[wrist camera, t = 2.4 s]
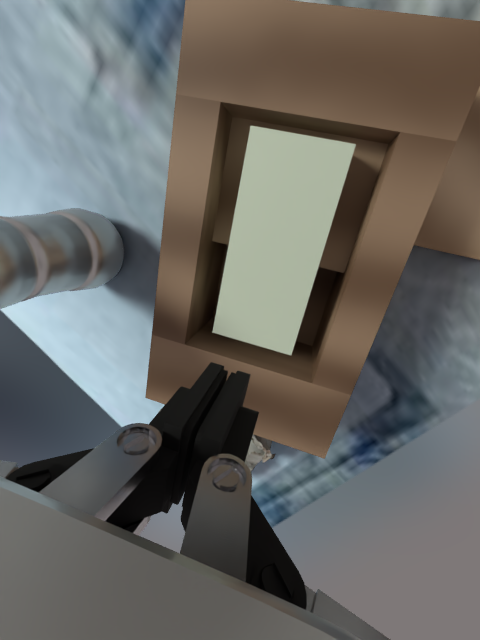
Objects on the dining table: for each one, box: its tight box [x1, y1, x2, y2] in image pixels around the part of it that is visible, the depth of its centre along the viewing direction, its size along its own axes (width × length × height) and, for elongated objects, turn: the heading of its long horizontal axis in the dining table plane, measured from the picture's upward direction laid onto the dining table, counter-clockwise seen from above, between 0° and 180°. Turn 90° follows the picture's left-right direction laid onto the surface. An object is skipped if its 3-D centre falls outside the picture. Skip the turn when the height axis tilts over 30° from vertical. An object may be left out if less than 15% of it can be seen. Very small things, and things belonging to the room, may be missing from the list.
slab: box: [212, 126, 356, 355], centre depth 18 cm, size 12×5×2 cm, turn 168°
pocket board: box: [146, 0, 480, 459], centre depth 20 cm, size 24×14×6 cm, turn 168°
